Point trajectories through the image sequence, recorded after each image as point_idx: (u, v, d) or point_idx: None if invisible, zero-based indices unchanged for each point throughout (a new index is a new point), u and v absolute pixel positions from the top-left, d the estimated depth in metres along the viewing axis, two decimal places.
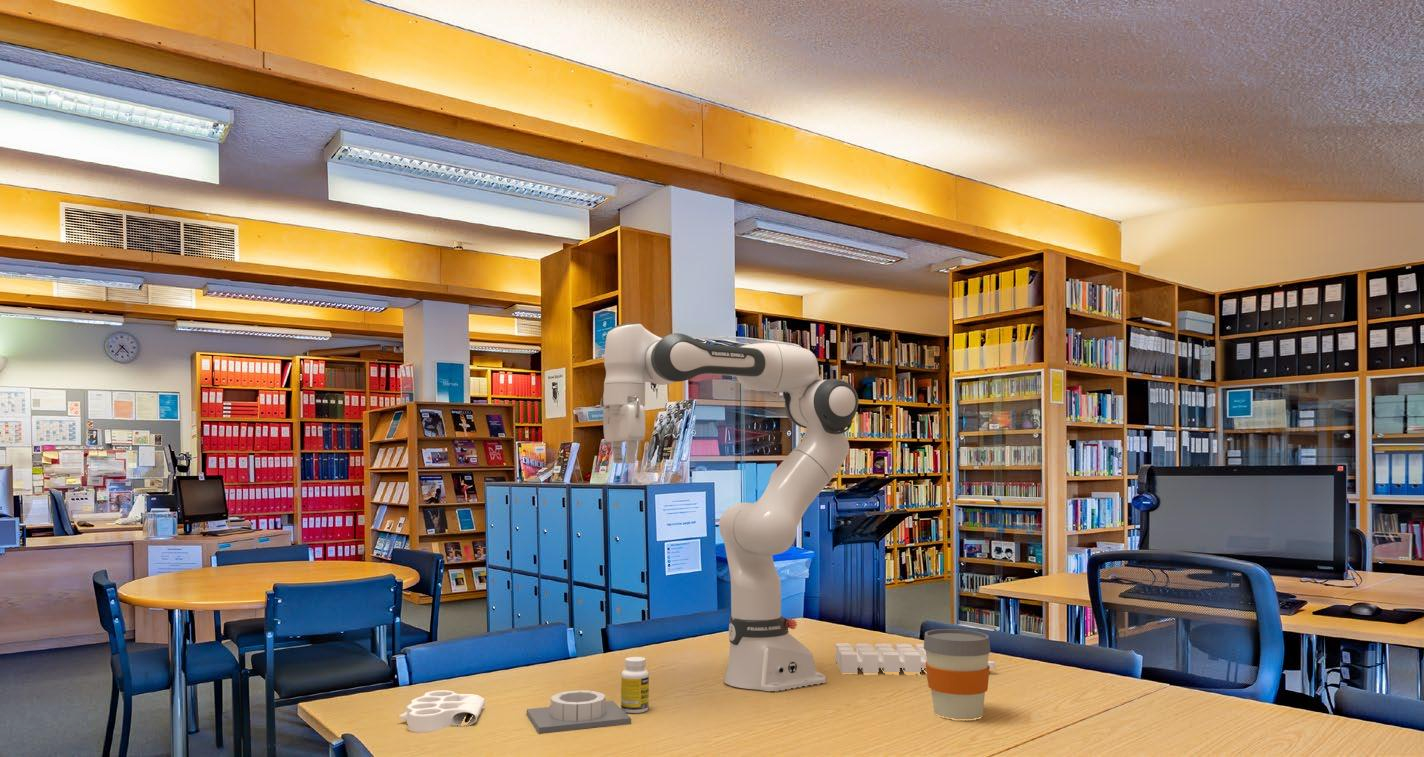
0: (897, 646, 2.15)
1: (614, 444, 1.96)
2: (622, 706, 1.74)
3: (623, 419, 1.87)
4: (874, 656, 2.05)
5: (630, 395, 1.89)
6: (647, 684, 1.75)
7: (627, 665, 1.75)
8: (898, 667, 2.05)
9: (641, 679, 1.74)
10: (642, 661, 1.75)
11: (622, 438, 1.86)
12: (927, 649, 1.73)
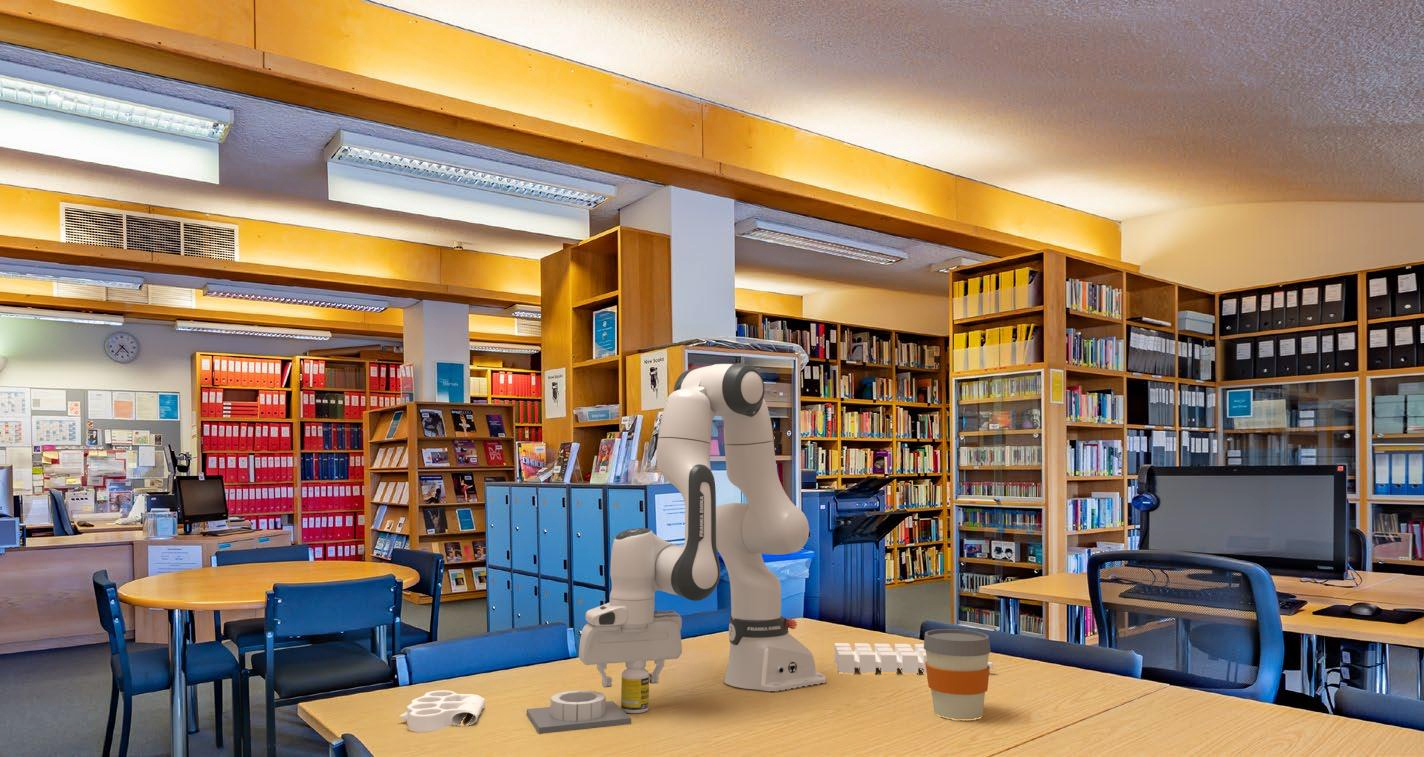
0: (896, 646, 2.15)
1: None
2: (622, 706, 1.74)
3: (657, 637, 1.77)
4: (871, 656, 2.06)
5: None
6: (647, 684, 1.75)
7: (627, 665, 1.75)
8: (895, 667, 2.05)
9: (641, 679, 1.74)
10: (642, 661, 1.75)
11: (658, 658, 1.76)
12: (927, 649, 1.73)
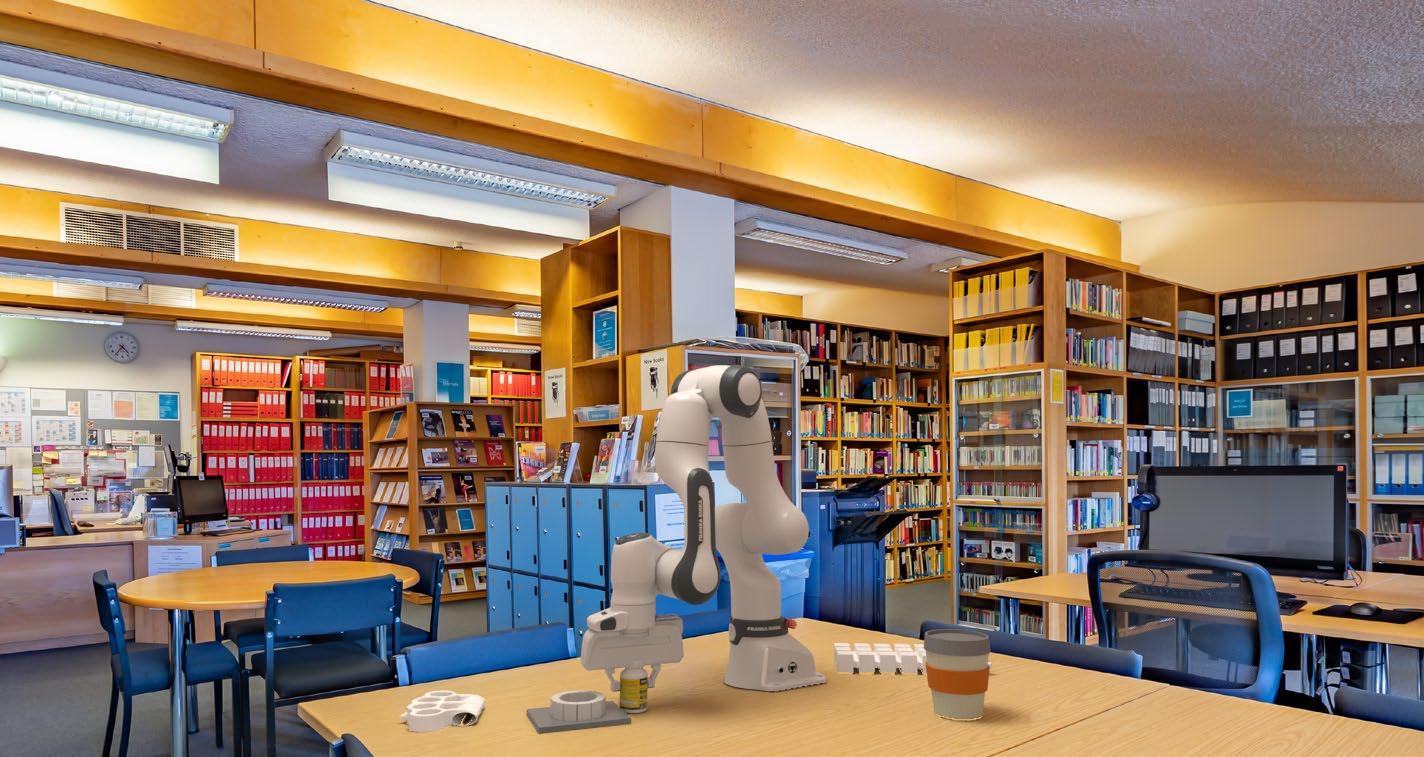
0: (895, 646, 2.15)
1: None
2: (621, 706, 1.74)
3: (658, 641, 1.77)
4: (870, 656, 2.06)
5: None
6: (646, 684, 1.75)
7: None
8: (894, 667, 2.05)
9: (639, 679, 1.74)
10: None
11: (660, 662, 1.76)
12: (927, 649, 1.73)
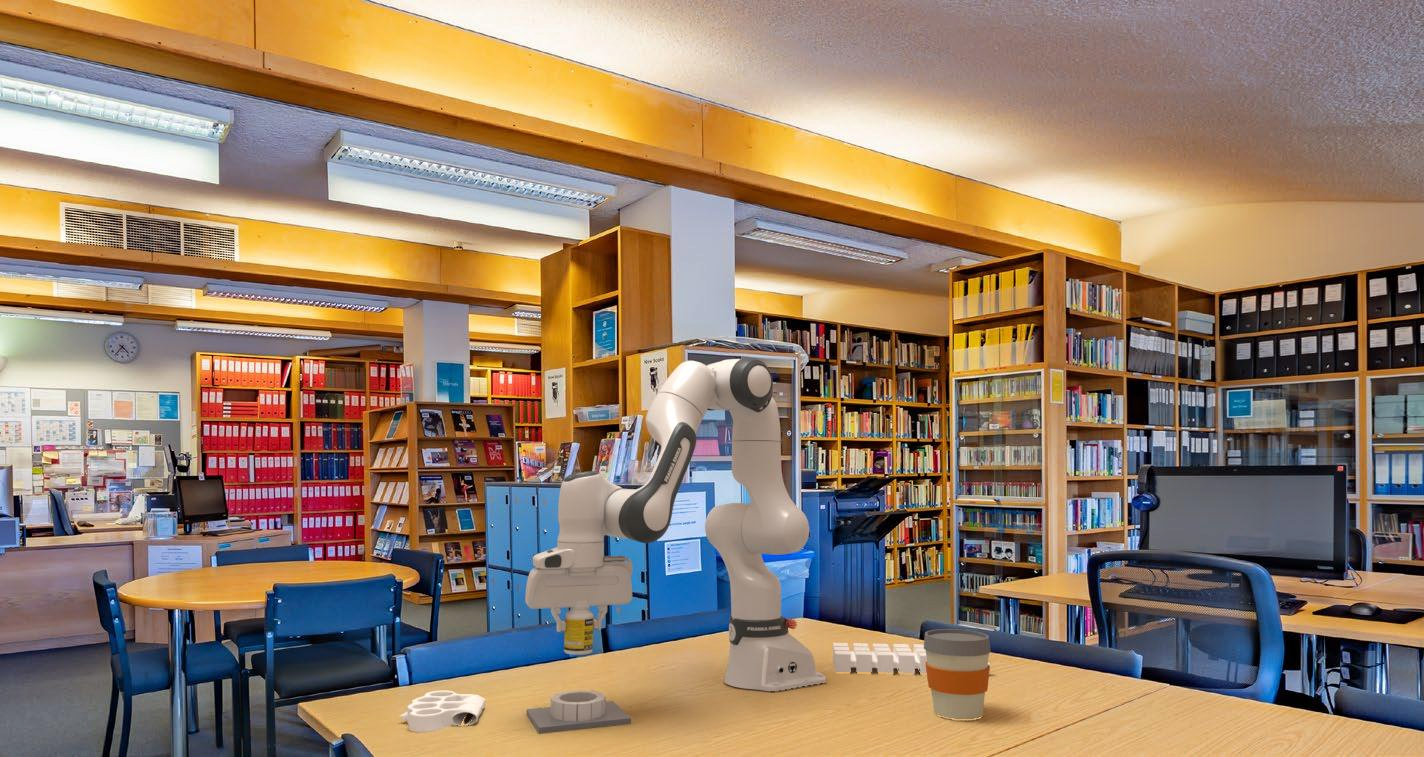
0: (894, 646, 2.15)
1: None
2: (565, 648, 1.69)
3: (606, 581, 1.72)
4: (867, 656, 2.06)
5: None
6: (591, 626, 1.70)
7: None
8: (892, 667, 2.05)
9: (584, 620, 1.69)
10: (586, 602, 1.70)
11: (607, 603, 1.72)
12: (927, 649, 1.73)
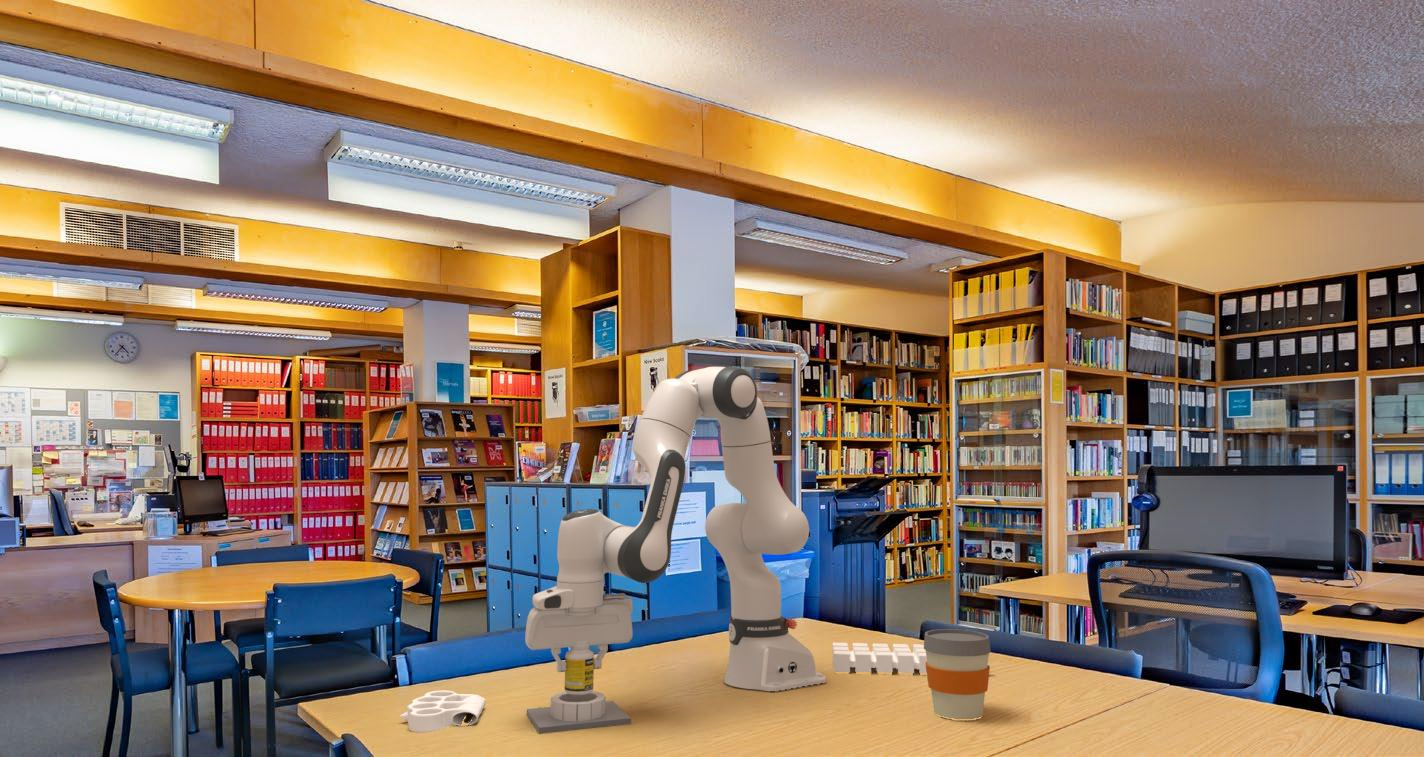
0: (893, 646, 2.15)
1: None
2: (565, 688, 1.69)
3: (606, 620, 1.71)
4: (867, 656, 2.06)
5: None
6: (592, 665, 1.69)
7: None
8: (891, 667, 2.05)
9: (584, 660, 1.68)
10: None
11: (607, 642, 1.71)
12: (927, 649, 1.73)
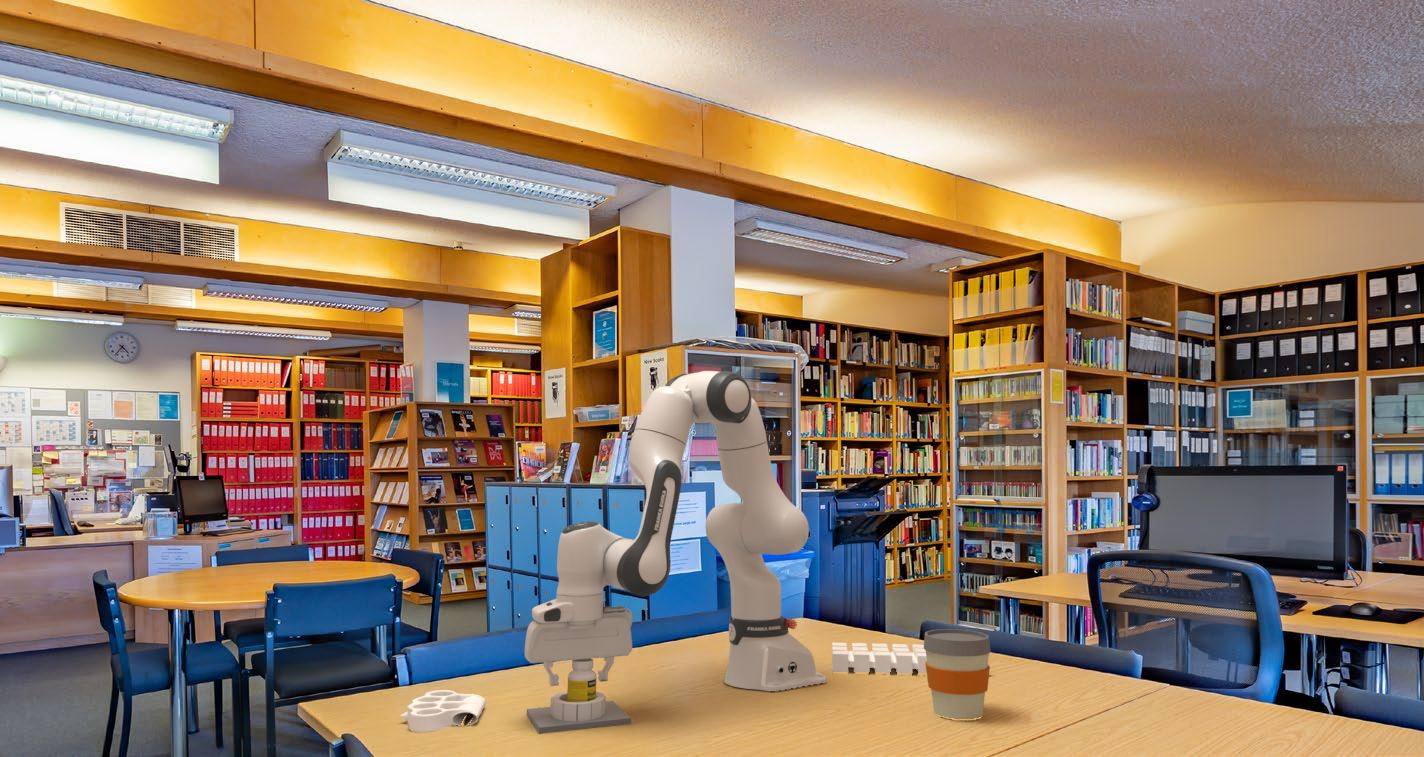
0: (893, 646, 2.15)
1: (552, 664, 1.68)
2: None
3: (606, 633, 1.71)
4: (865, 656, 2.06)
5: None
6: (594, 686, 1.69)
7: (574, 666, 1.69)
8: (889, 667, 2.05)
9: (587, 681, 1.68)
10: (589, 663, 1.69)
11: (607, 655, 1.71)
12: (927, 649, 1.73)
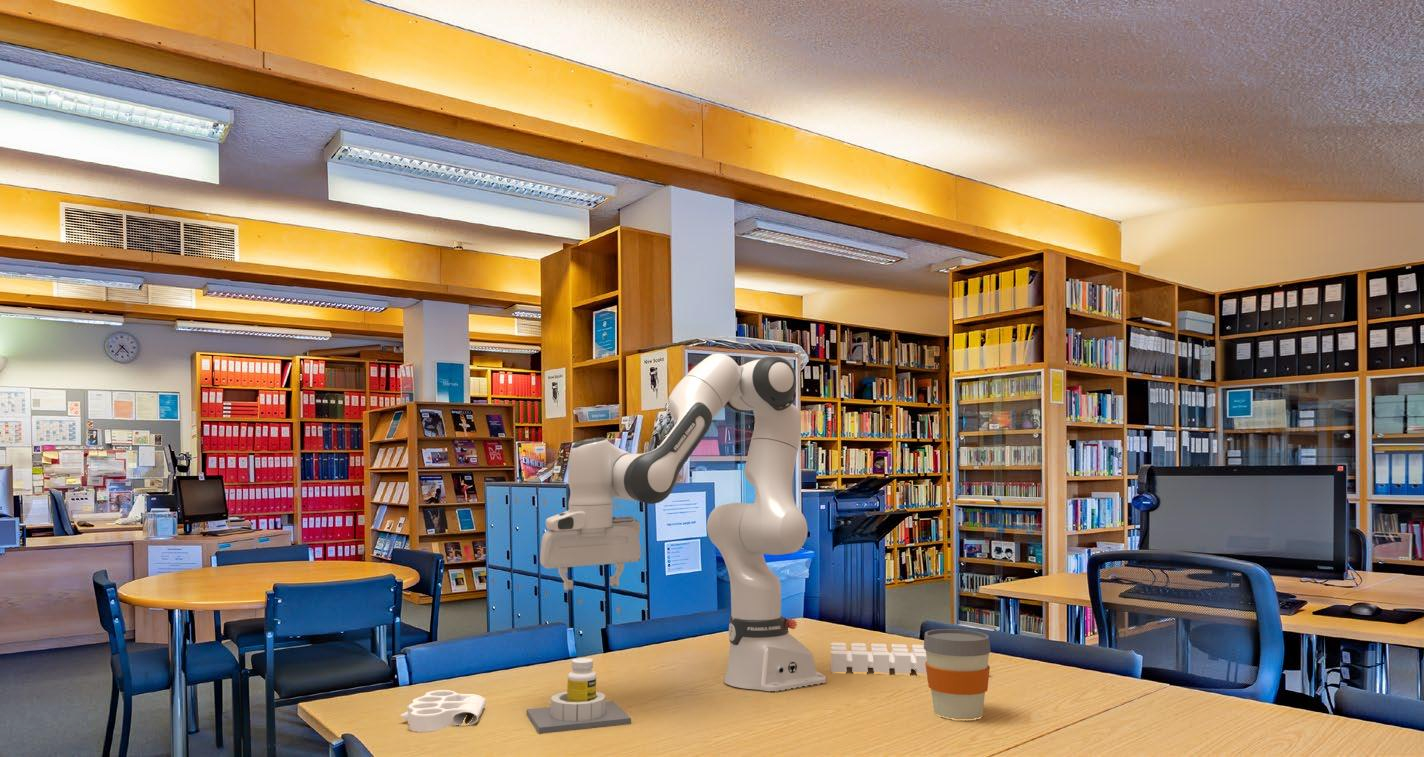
0: (892, 646, 2.15)
1: None
2: None
3: (616, 541, 1.82)
4: (863, 656, 2.06)
5: None
6: (594, 686, 1.69)
7: (573, 667, 1.69)
8: (887, 667, 2.05)
9: (587, 681, 1.68)
10: (589, 663, 1.69)
11: (618, 561, 1.81)
12: (927, 649, 1.73)
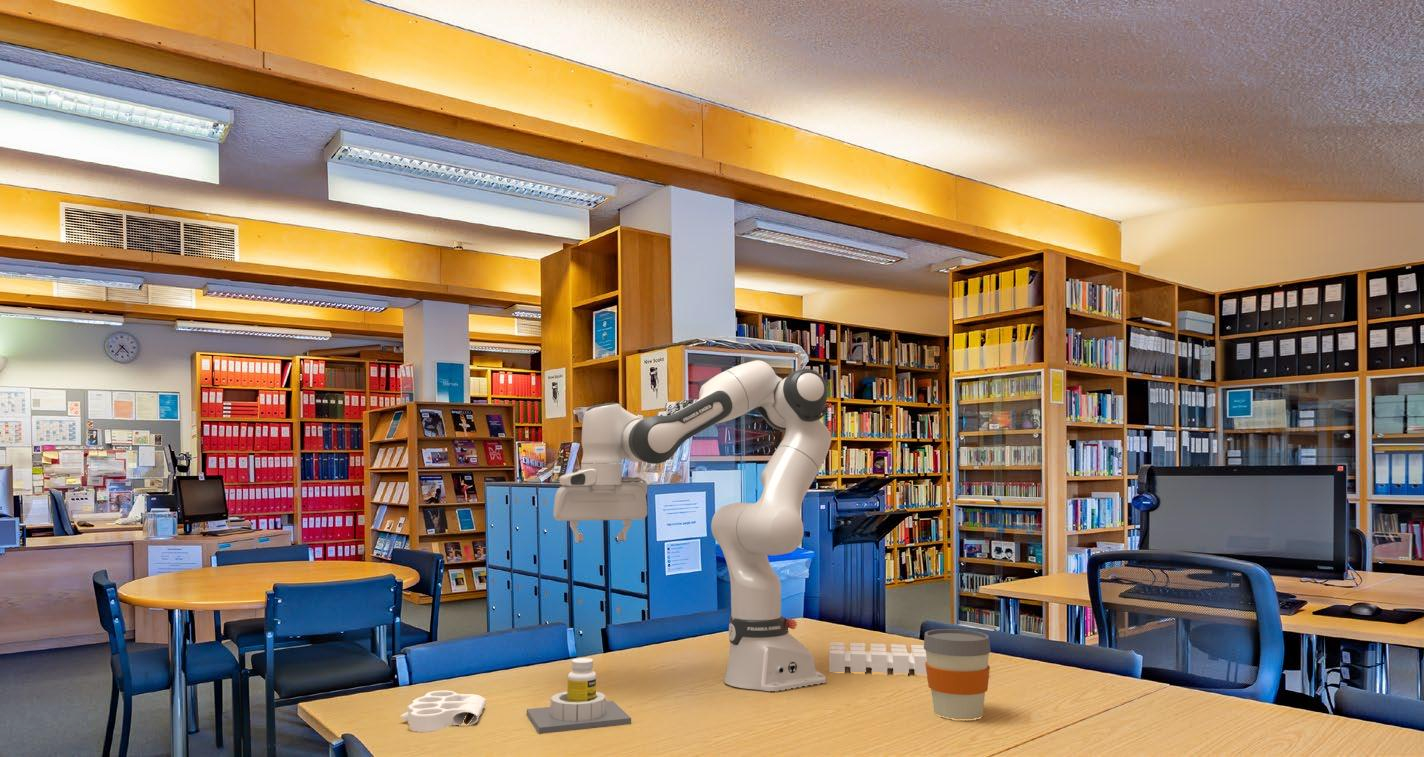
0: (891, 646, 2.15)
1: None
2: None
3: (624, 499, 1.95)
4: (861, 655, 2.06)
5: None
6: (594, 686, 1.69)
7: (573, 667, 1.69)
8: (886, 667, 2.05)
9: (587, 681, 1.68)
10: (589, 663, 1.69)
11: (625, 517, 1.95)
12: (927, 649, 1.73)
